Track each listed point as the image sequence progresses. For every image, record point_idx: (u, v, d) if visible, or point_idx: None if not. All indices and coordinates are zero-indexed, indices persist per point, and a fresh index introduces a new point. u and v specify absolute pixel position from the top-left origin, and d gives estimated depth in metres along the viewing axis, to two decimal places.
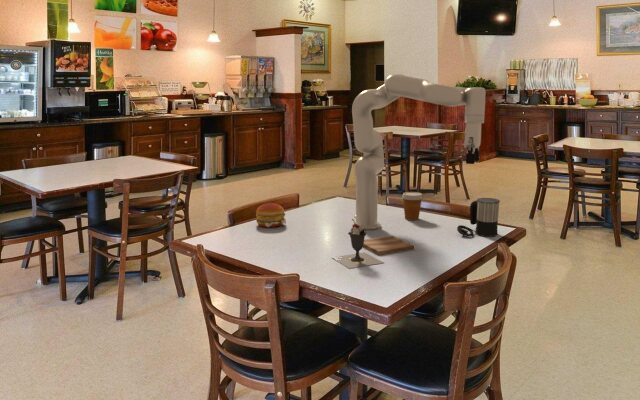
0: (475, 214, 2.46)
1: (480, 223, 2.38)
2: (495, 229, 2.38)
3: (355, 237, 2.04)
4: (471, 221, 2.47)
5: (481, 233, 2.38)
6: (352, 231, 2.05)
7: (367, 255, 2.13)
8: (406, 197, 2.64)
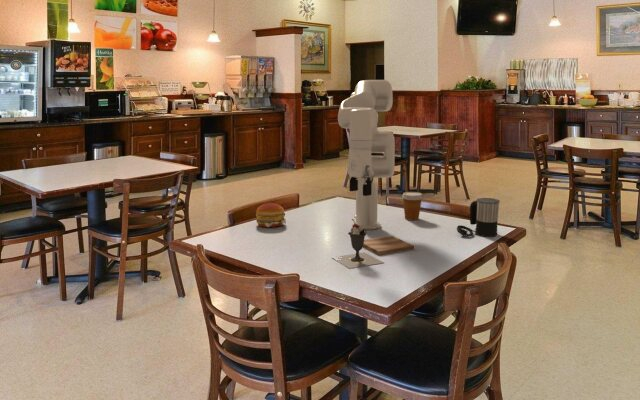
0: (475, 214, 2.46)
1: (480, 223, 2.38)
2: (495, 229, 2.38)
3: (355, 237, 2.04)
4: (471, 221, 2.47)
5: (481, 233, 2.38)
6: (352, 231, 2.05)
7: (367, 255, 2.13)
8: (406, 197, 2.64)
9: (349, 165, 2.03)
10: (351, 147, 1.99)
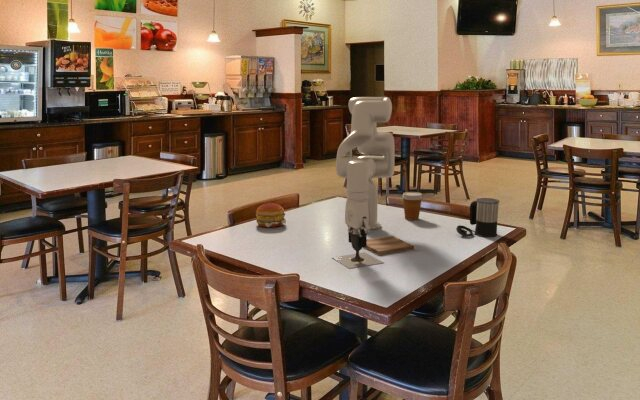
0: (475, 214, 2.46)
1: (479, 223, 2.38)
2: (494, 229, 2.38)
3: (355, 237, 2.04)
4: (471, 221, 2.47)
5: (480, 233, 2.38)
6: (352, 231, 2.05)
7: (367, 255, 2.13)
8: (406, 197, 2.64)
9: (346, 215, 2.07)
10: (348, 198, 2.02)
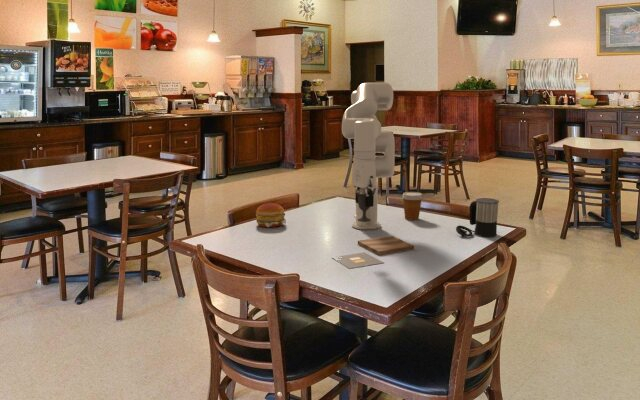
0: (474, 214, 2.46)
1: (479, 223, 2.38)
2: (494, 229, 2.37)
3: (362, 197, 2.05)
4: (470, 221, 2.46)
5: (480, 233, 2.38)
6: (359, 191, 2.06)
7: (367, 255, 2.13)
8: (406, 197, 2.64)
9: (353, 175, 2.08)
10: (355, 158, 2.03)
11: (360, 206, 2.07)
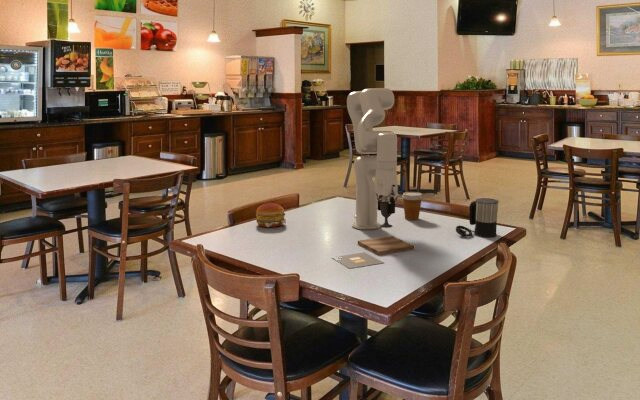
0: (474, 214, 2.46)
1: (479, 223, 2.37)
2: (494, 230, 2.37)
3: (385, 204, 2.19)
4: (470, 221, 2.46)
5: (480, 233, 2.38)
6: (381, 199, 2.20)
7: (367, 255, 2.13)
8: (406, 197, 2.64)
9: (376, 184, 2.21)
10: (378, 168, 2.16)
11: (382, 213, 2.20)
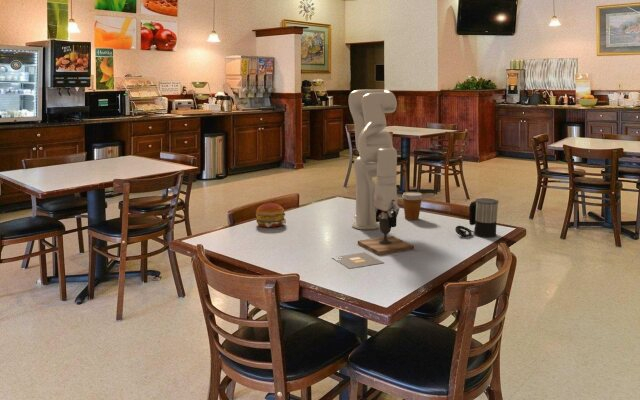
0: (474, 215, 2.45)
1: (478, 223, 2.37)
2: (493, 230, 2.37)
3: (384, 221, 2.21)
4: (470, 222, 2.46)
5: (479, 233, 2.38)
6: (381, 216, 2.22)
7: (367, 255, 2.13)
8: (406, 197, 2.64)
9: (376, 198, 2.22)
10: (378, 183, 2.18)
11: (382, 230, 2.23)
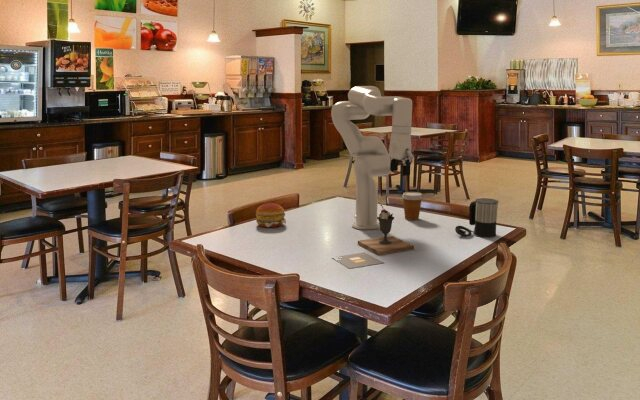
0: (474, 215, 2.45)
1: (478, 223, 2.37)
2: (493, 230, 2.37)
3: (384, 221, 2.21)
4: (470, 222, 2.46)
5: (479, 233, 2.37)
6: (381, 216, 2.22)
7: (367, 255, 2.13)
8: (406, 197, 2.64)
9: (390, 148, 2.28)
10: (393, 132, 2.23)
11: (382, 230, 2.23)
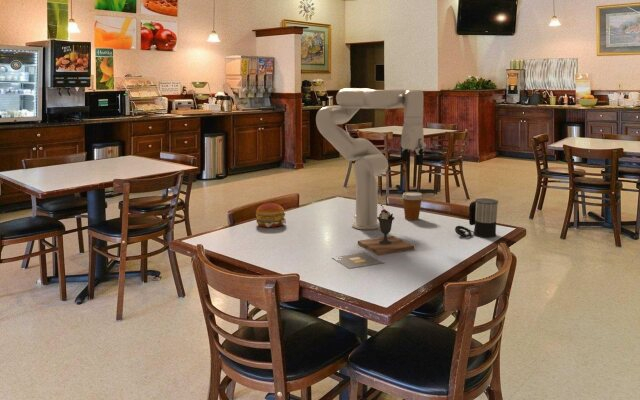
0: (474, 215, 2.45)
1: (478, 223, 2.37)
2: (493, 230, 2.37)
3: (384, 221, 2.21)
4: (470, 222, 2.46)
5: (479, 233, 2.37)
6: (381, 216, 2.22)
7: (367, 255, 2.13)
8: (406, 197, 2.64)
9: (403, 139, 2.36)
10: (405, 123, 2.31)
11: (382, 230, 2.23)
